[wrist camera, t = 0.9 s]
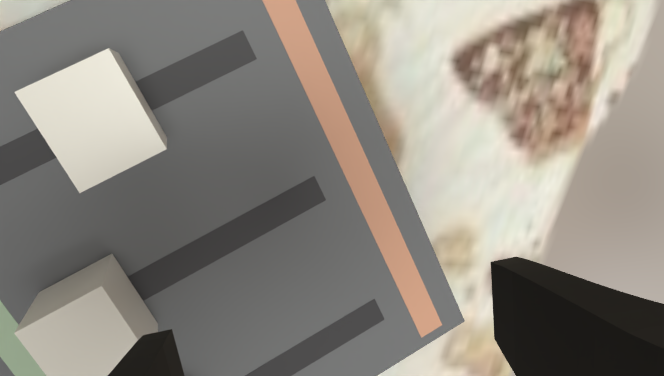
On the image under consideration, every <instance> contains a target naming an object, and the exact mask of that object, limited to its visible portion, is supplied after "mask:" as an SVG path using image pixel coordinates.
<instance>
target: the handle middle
mask: <svg viewBox="0 0 664 376" xmlns="http://www.w3.org/2000/svg"><path fill="white" fill-rule="evenodd" d="M155 332H158V323H157V322H156V320H155V318H154V317H153V315H152V314H151V312H150V311H149V309H148V308H147V306H146V305H145V303H144V302H143V300H142V299H141V297H140V295H139V294H138V292H137V291H136V289H135V288H134V286H133V285H132V283H131V282H130V280H129V279H128V277H127V275H126V274H125V272H124V271H123V269H122V268H121V266H120V265H119V263H118V262H117V260H116V259H115V257H114V255H113V254H110V255H108V256H106V257H104V258H103V259H101V260H99V261H97V262H95V263H93V264H91V265H89V266H87V267H86V268H84V269H82V270H80V271H78V272H76V273H74V274H72V275H71V276H69V277H67V278H65V279H63V280H61V281H59V282H57V283H55V284H54V285H52V286H50V287H48V288H46V289H44V290H42V291H40V292H39V293H38V294H37V296H36V298H35V299H34V301H33V303H32V304H31V306H30V308H29V309H28V311H27V313H26V314H25V316H24V317H23V319H22V321H21V322H20V324H19V326H18V327H17V329H16V331H15V332H14V334H15V335H16V336H17V338H18V339H19V340H20V342H21V343H22V344H23V346H24V347H25V348H26V349H27V351H28V352H29V353H30V355H31V356H32V357H33V359H34V360H35V361H36V363H37V364H38V365H39V367H40V368H41V369H42V371H43V372H44V373H45V375H46V376H108V375H109V373H110V372H111V371H112V370H113V369H114V368H115V366H116V365H117V364H118V363H119V362H120V361H121V359H122V358H123V357H124V356H125V355H126V354H127V352H128V351H129V350H130V349H131V348H132V347H133V345H134V344H135V343H136V342H137V341H138V340H139V339H140V338H141V337H142V336H143V335H146V334H151V333H155Z"/></svg>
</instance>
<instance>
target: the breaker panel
mask: <svg viewBox="0 0 664 376" xmlns="http://www.w3.org/2000/svg"><path fill="white" fill-rule="evenodd" d="M108 48H109V49H111V50H114V51H116V52H118V53H119V54H120V56H121V58H122V60H123V61H124V63H125V65H126V67H127V68H128V70H129V72H130V74H131V75H132V77H133V79H134V81H135V82H136V84H137V86H138V88H139V89H140V91H141V93H142V95H143V96H144V98H145V100H146V102H147V103H148V105H149V107H150V109H151V110H152V112H153V114H154V116H155V117H156V119H157V121H158V123H159V124H160V126H161V128H162V130H163V131H164V133H165V135H166V137H167V149H166V150H164V151H162V152H160V153H158V154H156V155H154V156H152V157H150V158H148V159H146V160H144V161H142V162H140V163H138V164H137V165H135V166H133V167H131V168H129V169H127V170H125V171H123V172H121V173H119V174H117V175H115V176H113V177H111V178H109V179H107V180H105V181H103V182H101V183H99V184H97V185H95V186H93V187H91V188H89V189H87V190H85V191H83V192H81V193H79V191H78V190H77V188H76V187H75V185H74V184H73V182H72V181H71V179H70V178H69V176H68V174H67V173H66V171H65V170H64V168H63V167H62V165H61V164H60V162H59V161H58V159H57V157H56V156H55V154H54V153H53V151H52V150H51V148H50V147H49V145H48V143H47V142H46V140H45V139H44V137H43V136H42V134H41V133H40V131H39V130H38V128H37V126H36V125H35V123H34V122H33V120H32V119H31V117H30V116H29V114H28V113H27V111H26V109H25V108H24V106H23V105H22V103H21V102H20V100H19V99H18V97H17V96H16V94H15V91H18V90H20V89H22V88H24V87H26V86H28V85H30V84H33V83H35V82H37V81H39V80H41V79H43V78H46V77H48V76H50V75H52V74H54V73H56V72H58V71H61V70H63V69H65V68H67V67H69V66H71V65H74V64H76V63H78V62H80V61H82V60H84V59H86V58H89V57H91V56H93V55H95V54H97V53H99V52H101V51H104V50H106V49H108ZM110 254H113V255H114V257H115V259H116V260H117V262H118V263H119V265H120V266H121V268H122V269H123V271H124V272H125V274H126V275H127V277H128V279H129V280H130V282H131V283H132V285H133V286H134V288H135V289H136V291H137V292H138V294H139V295H140V297H141V299H142V300H143V302H144V303H145V305H146V306H147V308H148V309H149V311H150V312H151V314H152V315H153V317H154V318H155V320H156V322H157V323H158V332H160V331H165V330H170V329H172V331H173V335H174V339H175V342H176V346H177V350H178V353H179V357H180V361H181V364H182V368H183V372H184V375H185V376H377V375H379V374H380V373H382V372H384V371H385V370H387V369H388V368H390V367H392V366H393V365H395V364H396V363H398V362H400V361H401V360H403V359H404V358H406V357H408V356H409V355H411V354H413V353H414V352H416V351H417V350H419V349H421V348H422V347H424V346H425V345H427V344H429V343H430V342H432V341H433V340H435V339H437V338H438V337H440V336H441V335H443V334H445V333H446V332H448V331H450V330H451V329H453V328H454V327H456V326H458V325H459V324H461V323H462V322H464V319H463V316H462V314H461V312H460V310H459V307H458V305H457V303H456V300H455V298H454V296H453V293H452V291H451V289H450V287H449V284H448V282H447V280H446V277H445V275H444V273H443V271H442V268H441V266H440V264H439V261H438V259H437V257H436V254H435V252H434V250H433V248H432V245H431V243H430V241H429V238H428V236H427V234H426V231H425V229H424V227H423V225H422V222H421V220H420V218H419V215H418V213H417V211H416V209H415V206H414V204H413V202H412V199H411V197H410V195H409V192H408V190H407V188H406V186H405V183H404V181H403V179H402V176H401V174H400V172H399V169H398V167H397V165H396V163H395V160H394V158H393V156H392V153H391V151H390V149H389V147H388V144H387V142H386V140H385V137H384V135H383V133H382V130H381V128H380V126H379V124H378V121H377V119H376V117H375V114H374V112H373V110H372V108H371V105H370V103H369V101H368V98H367V96H366V94H365V91H364V89H363V87H362V85H361V82H360V80H359V78H358V75H357V73H356V71H355V68H354V66H353V64H352V62H351V59H350V57H349V55H348V52H347V50H346V48H345V46H344V43H343V41H342V39H341V36H340V34H339V32H338V29H337V27H336V25H335V23H334V20H333V18H332V16H331V13H330V11H329V9H328V6H327V4H326V2H325V0H70V1H68V2H66V3H63V4H61V5H59V6H57V7H54V8H52V9H50V10H48V11H45V12H43V13H41V14H39V15H36V16H34V17H32V18H30V19H27V20H25V21H23V22H21V23H18V24H16V25H14V26H12V27H9V28H7V29H5V30H3V31H0V376H46V375H45V373H44V372H43V371H42V369H41V368H40V367H39V365H38V364H37V363H36V361H35V360H34V359H33V357H32V356H31V355H30V353H29V352H28V351H27V349H26V348H25V347H24V346H23V344H22V343H21V342H20V340H19V339H18V338H17V336H16V335H15V334H14V332H15V331H16V329H17V327H18V326H19V324H20V322H21V321H22V319H23V317H24V316H25V314H26V313H27V311H28V309H29V308H30V306H31V304H32V303H33V301H34V299H35V298H36V296H37V294H38V293H39V292H40V291H42V290H44V289H46V288H48V287H50V286H52V285H54V284H55V283H57V282H59V281H61V280H63V279H65V278H67V277H69V276H71V275H72V274H74V273H76V272H78V271H80V270H82V269H84V268H86V267H87V266H89V265H91V264H93V263H95V262H97V261H99V260H101V259H103V258H104V257H106V256H108V255H110Z"/></svg>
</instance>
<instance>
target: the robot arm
mask: <svg viewBox="0 0 664 376" xmlns="http://www.w3.org/2000/svg"><path fill="white" fill-rule="evenodd" d="M491 275H492V296H493V316H494V337H495V340H496V342H497V344H498V346H499V347H500V349H501V351H502V353H503V354H504V356H505V358H506V360H507V361H508V363H509V365H510V366H511V368H512V370H513V371H514V373H515V375H516V376H664V304H662V303H658V302H654V301H650V300H647V299H644V298H640V297H637V296H633V295H630V294H627V293H623V292H620V291H617V290H614V289H611V288H608V287H605V286H602V285H599V284H596V283H593V282H590V281H587V280H584V279H582V278H579V277H576V276H573V275H570V274H567V273H565V272H562V271H559V270H556V269H554V268H551V267H548V266H545V265H542V264H539V263H536V262H533V261H530V260H527V259H523V258H519V257H513V258H508V259H503V260H498V261H494V262H491ZM108 376H185V375H184V372H183V368H182V364H181V361H180V357H179V353H178V350H177V346H176V342H175V339H174V335H173V331H172V329H170V330H165V331H160V332H155V333H151V334H146V335H143V336H142V337H141V338H140V339H139V340H138V341H137V342H136V343H135V344H134V345H133V347H132V348H131V349H130V350H129V351H128V352H127V354H126V355H125V356H124V357H123V358H122V359H121V361H120V362H119V363H118V364H117V365H116V366H115V368H114V369H113V370H112V371H111V372H110V373H109V375H108Z"/></svg>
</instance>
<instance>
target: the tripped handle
mask: <svg viewBox="0 0 664 376" xmlns="http://www.w3.org/2000/svg"><path fill="white" fill-rule="evenodd" d="M15 94H16V96H17V97H18V99H19V100H20V102H21V103H22V105H23V106H24V108H25V109H26V111H27V113H28V114H29V116H30V117H31V119H32V120H33V122H34V123H35V125H36V126H37V128H38V130H39V131H40V133H41V134H42V136H43V137H44V139H45V140H46V142H47V143H48V145H49V147H50V148H51V150H52V151H53V153H54V154H55V156H56V157H57V159H58V161H59V162H60V164H61V165H62V167H63V168H64V170H65V171H66V173H67V174H68V176H69V178H70V179H71V181H72V182H73V184H74V185H75V187H76V188H77V190H78V191H79V193H81V192H83V191H85V190H87V189H89V188H91V187H93V186H95V185H97V184H99V183H101V182H103V181H105V180H107V179H109V178H111V177H113V176H115V175H117V174H119V173H121V172H123V171H125V170H127V169H129V168H131V167H133V166H135V165H137V164H138V163H140V162H142V161H144V160H146V159H148V158H150V157H152V156H154V155H156V154H158V153H160V152H162V151H164V150H166V149H167V137H166V135H165V133H164V131H163V130H162V128H161V126H160V124H159V123H158V121H157V119H156V117H155V116H154V114H153V112H152V110H151V109H150V107H149V105H148V103H147V102H146V100H145V98H144V96H143V95H142V93H141V91H140V89H139V88H138V86H137V84H136V82H135V81H134V79H133V77H132V75H131V74H130V72H129V70H128V68H127V67H126V65H125V63H124V61H123V60H122V58H121V56H120V54H119V53H118V52H116V51H114V50H111V49H109V48H108V49H106V50H104V51H101V52H99V53H97V54H95V55H93V56H91V57H89V58H86V59H84V60H82V61H80V62H78V63H76V64H74V65H71V66H69V67H67V68H65V69H63V70H61V71H58V72H56V73H54V74H52V75H50V76H48V77H46V78H43V79H41V80H39V81H37V82H35V83H33V84H30V85H28V86H26V87H24V88H22V89H20V90H18V91H15Z"/></svg>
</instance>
